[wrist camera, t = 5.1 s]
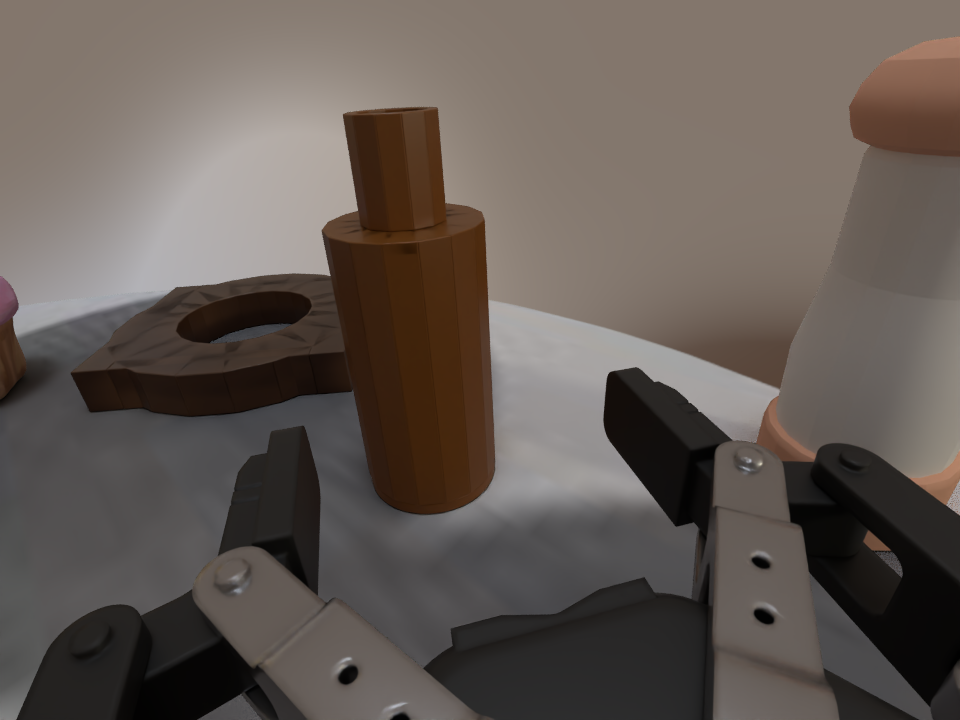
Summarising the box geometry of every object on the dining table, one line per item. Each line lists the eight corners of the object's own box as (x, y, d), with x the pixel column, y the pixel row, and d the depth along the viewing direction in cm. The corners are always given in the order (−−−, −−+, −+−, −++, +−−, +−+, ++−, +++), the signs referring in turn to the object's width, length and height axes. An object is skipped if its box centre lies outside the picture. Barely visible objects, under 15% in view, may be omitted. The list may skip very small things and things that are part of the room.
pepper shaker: (971, 564, 20) (1337, -36, 11) (770, 538, 22) (945, -7, 13) (888, 448, 27) (1079, 0, 17) (736, 435, 28) (837, 17, 19)
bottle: (365, 520, 24) (279, 122, 16) (378, 436, 30) (320, 110, 21) (501, 507, 24) (485, 110, 16) (489, 427, 30) (472, 101, 22)
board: (66, 426, 32) (44, 386, 31) (188, 311, 48) (177, 281, 46) (356, 403, 33) (348, 362, 31) (382, 297, 49) (377, 267, 47)
